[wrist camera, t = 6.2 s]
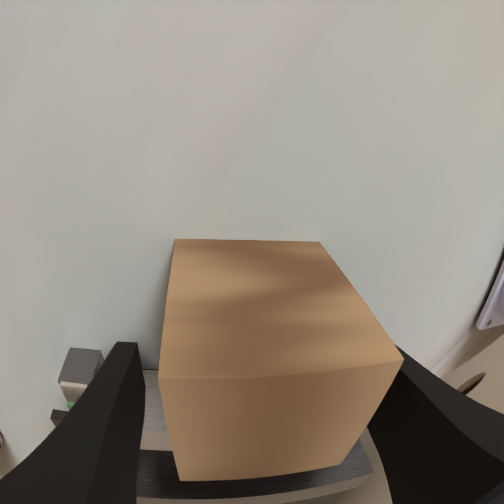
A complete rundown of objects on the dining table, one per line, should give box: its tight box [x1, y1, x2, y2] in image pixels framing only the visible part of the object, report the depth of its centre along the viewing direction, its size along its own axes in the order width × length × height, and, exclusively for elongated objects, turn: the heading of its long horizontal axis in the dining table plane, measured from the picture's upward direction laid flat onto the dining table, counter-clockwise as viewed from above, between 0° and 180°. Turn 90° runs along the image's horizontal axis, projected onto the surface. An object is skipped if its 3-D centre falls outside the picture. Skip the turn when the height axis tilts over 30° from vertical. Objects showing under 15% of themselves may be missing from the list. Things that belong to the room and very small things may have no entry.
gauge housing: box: [58, 348, 374, 504], centre depth 13 cm, size 15×8×4 cm, turn 85°
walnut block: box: [158, 239, 404, 481], centre depth 9 cm, size 5×5×6 cm
